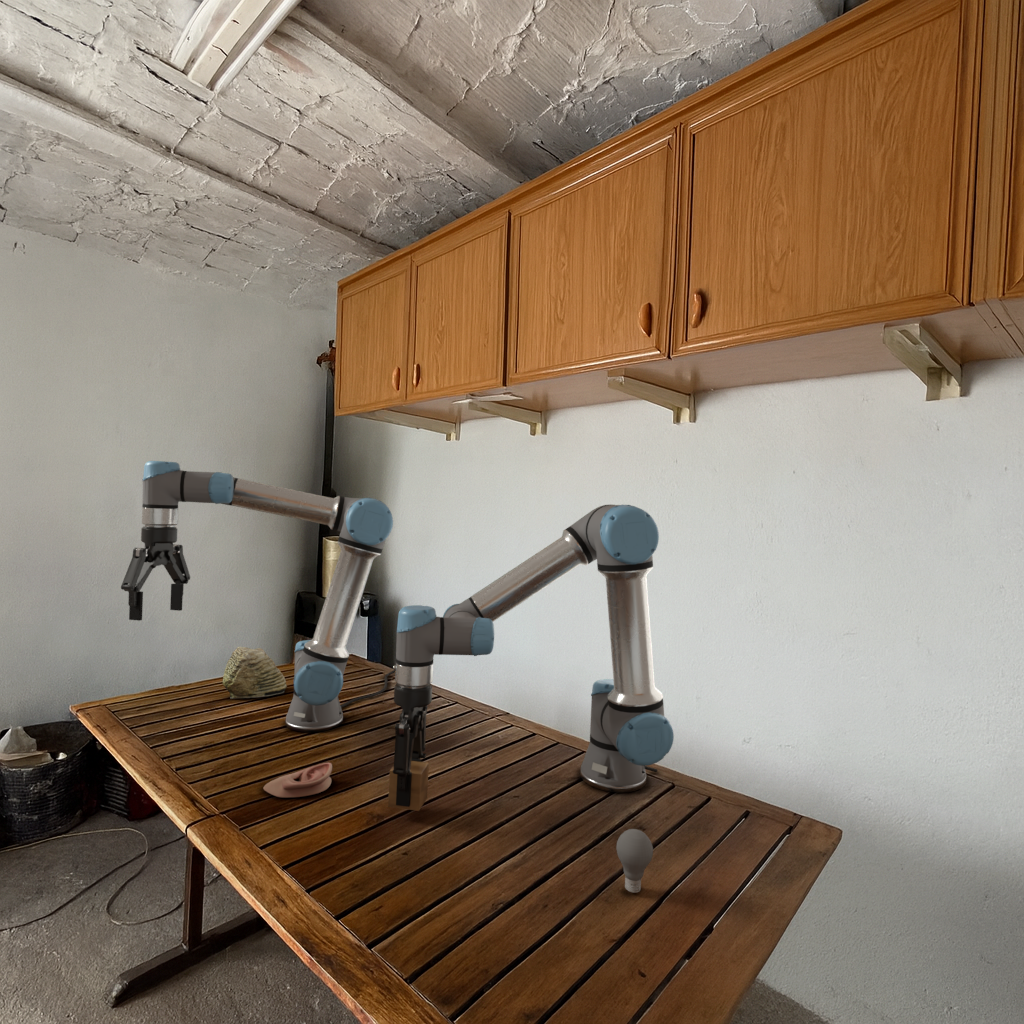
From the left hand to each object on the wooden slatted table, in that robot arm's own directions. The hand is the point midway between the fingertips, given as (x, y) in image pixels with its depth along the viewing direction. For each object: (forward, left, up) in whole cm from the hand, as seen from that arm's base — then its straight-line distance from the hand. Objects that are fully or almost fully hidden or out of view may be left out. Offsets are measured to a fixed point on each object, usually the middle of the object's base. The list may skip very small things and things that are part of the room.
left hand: (156, 614), depth 151 cm
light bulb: (-30, +112, -33) cm, 121 cm away
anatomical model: (-14, +40, -33) cm, 54 cm away
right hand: (-22, +66, -30) cm, 76 cm away
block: (-22, +66, -31) cm, 76 cm away
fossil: (-40, -24, -33) cm, 57 cm away
